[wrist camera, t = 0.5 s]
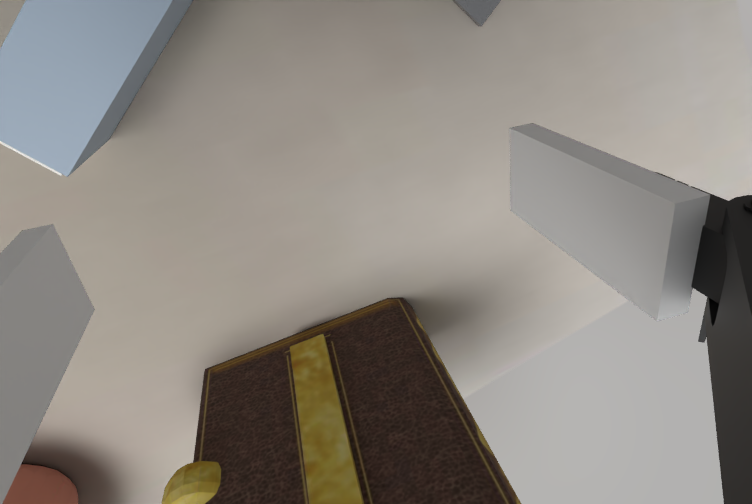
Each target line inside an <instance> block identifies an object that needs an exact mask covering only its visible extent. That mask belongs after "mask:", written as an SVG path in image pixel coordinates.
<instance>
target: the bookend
mask: <svg viewBox="0 0 752 504" xmlns="http://www.w3.org/2000/svg"><path fill="white" fill-rule="evenodd" d="M453 1H454V2H455V3H456V4H457V5H458V6H459V7H460V8H461V9H462V10H463V11H464V12H465V13H466V14H467V15H468V16H469V17H470V18H471V19H472V20H473V21H474V22H475V23H476V24H477V25H478V26H482V25H483V23H484V22H485V21H486V19H487V18H488V17H489V15H490V14H491V13H492V11H493V10H494V9H495V7H496V6H497V5H498V3H499V2H500V1H501V0H453Z"/></svg>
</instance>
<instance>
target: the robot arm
mask: <svg viewBox="0 0 752 504" xmlns="http://www.w3.org/2000/svg"><path fill="white" fill-rule="evenodd" d="M510 206H511V211H512V212H513V213H514V214H516V215H517V216H518V217H520V218H521V219H522V220H524V221H525V222H526V223H528V224H529V225H530V226H532V227H533V228H534V229H535V230H537V231H538V232H539V233H541V234H542V235H543V236H545V237H546V238H547V239H549V240H550V241H551V242H553V243H554V244H555V245H557V246H558V247H559V248H561V249H562V250H563V251H564V252H566V253H567V254H568V255H570V256H571V257H572V258H574V259H575V260H576V261H578V262H579V263H580V264H582V265H583V266H584V267H586V268H587V269H588V270H590V271H591V272H592V273H593V274H595V275H596V276H597V277H599V278H600V279H601V280H603V281H604V282H605V283H607V284H608V285H609V286H611V287H612V288H613V289H615V290H616V291H617V292H619V293H620V294H621V295H622V296H624V297H625V298H626V299H628V300H629V301H630V302H632V303H633V304H634V305H636V306H637V307H638V308H640V309H641V310H642V311H644V312H645V313H646V314H648V315H649V316H650V317H651V318H653V319H654V320H655V321H661V320H664V319H668V318H671V317H675V316H678V315H682V314H685V313H688V309H689V304H690V299H691V294H692V289H693V288H694V289H696V290H697V291H699V292H701V293H702V294H704V295H705V296H707V302H706V307H705V311H704V316H703V321H702V326H701V330H700V336H699V340H698V341H699V342H704V341H705V339H706V337H707V345H708V354H709V363H710V372H711V383H712V392H713V402H714V412H715V421H716V431H717V441H718V450H719V460H720V468H721V479H722V489H723V498H724V504H752V195H746V196H741V197H736V198H734V199H732V200H730V201H727V200H725V199H722V198H720V197H717V196H715V195H712V194H710V193H707V192H705V191H702V190H700V189H697V188H695V187H692V186H691V187H690V186H688V185H687V184H685V183H682V182H680V181H675V179H672V178H670V177H667V176H665V175H662V174H660V173H657V172H653V171H650V170H648V169H645V168H643V167H640V166H638V165H635V164H633V163H630V162H628V161H625V160H623V159H620V158H618V157H615V156H613V155H610V154H608V153H606V152H603V151H601V150H598V149H596V148H593V147H591V146H588V145H586V144H583V143H581V142H578V141H576V140H573V139H571V138H568V137H566V136H563V135H561V134H558V133H556V132H553V131H551V130H548V129H546V128H544V127H541V126H539V125H536V124H534V123H531V124H526V125H521V126H516V127H512V128H510ZM94 310H95V309H94V307H93V305H92V303H91V301H90V299H89V297H88V295H87V293H86V291H85V289H84V286H83V284H82V282H81V280H80V278H79V276H78V274H77V272H76V270H75V268H74V266H73V264H72V262H71V260H70V258H69V256H68V254H67V252H66V250H65V248H64V246H63V244H62V242H61V240H60V237H59V235H58V233H57V231H56V229H55V227H54V225H53V224H51V225H47V226H42V227H37V228H32V229H28V230H23V231H21V232H20V233H19V234H18V235H17V237H16V238H15V239H14V240H13V241H12V242H11V243H10V244H9V245H8V246H7V247H6V248H5V249H4V250H3V251H2V252H1V253H0V504H2V503H3V501H4V499H5V497H6V495H7V493H8V491H9V489H10V487H11V484H12V482H13V480H14V478H15V476H16V474H17V472H18V470H19V468H20V465H21V463H22V461H23V459H24V457H25V455H26V453H27V451H28V449H29V447H30V444H31V442H32V440H33V438H34V436H35V434H36V432H37V430H38V428H39V425H40V423H41V421H42V419H43V417H44V415H45V413H46V411H47V409H48V407H49V404H50V402H51V400H52V398H53V396H54V394H55V392H56V390H57V388H58V386H59V383H60V381H61V379H62V377H63V375H64V373H65V371H66V369H67V367H68V364H69V362H70V360H71V358H72V356H73V354H74V352H75V350H76V348H77V346H78V343H79V341H80V339H81V337H82V335H83V333H84V331H85V329H86V327H87V325H88V322H89V320H90V318H91V316H92V314H93V312H94Z"/></svg>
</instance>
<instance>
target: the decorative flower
mask: <svg viewBox="0 0 752 504" xmlns="http://www.w3.org/2000/svg"><path fill="white" fill-rule="evenodd" d="M2 504H78V493H77V490H76V487H75V485H74V484H73V483H72V482H71V480H70V479H69V478H68V477H66V476H65V475H63V474H62V473H61V472H59V471H58V470H54V469H51V468H47V467H44V466H36V465H28V464H23V465H20V468H19V470H18V472H17V474H16V476H15V478H14V480H13V482H12V484H11V487H10V489H9V491H8V493H7V495H6V497H5V499H4V501H3V503H2Z"/></svg>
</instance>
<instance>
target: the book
mask: <svg viewBox="0 0 752 504" xmlns="http://www.w3.org/2000/svg"><path fill="white" fill-rule="evenodd" d="M162 504H521V503H520V501H519V499H518V497H517V495H516V494H515V492H514V490H513V488H512V486H511V485H510V483H509V481H508V479H507V477H506V476H505V474H504V472H503V470H502V468H501V467H500V465H499V463H498V461H497V459H496V458H495V456H494V454H493V452H492V450H491V449H490V447H489V445H488V443H487V441H486V440H485V438H484V436H483V434H482V432H481V431H480V429H479V427H478V425H477V423H476V422H475V420H474V418H473V416H472V414H471V413H470V411H469V409H468V407H467V405H466V404H465V402H464V400H463V398H462V396H461V395H460V393H459V391H458V389H457V387H456V386H455V384H454V382H453V380H452V378H451V377H450V375H449V373H448V371H447V369H446V368H445V366H444V364H443V362H442V360H441V359H440V357H439V355H438V353H437V351H436V350H435V348H434V346H433V344H432V342H431V341H430V339H429V337H428V335H427V333H426V332H425V330H424V328H423V326H422V324H421V322H420V321H419V319H418V317H417V315H416V313H415V312H414V310H413V308H412V306H410V305H409V304H408V303H407V302H406V301H405V300H404V299H403V298H387V299H385V300H382V301H379V302H377V303H374V304H372V305H369V306H367V307H364V308H361V309H359V310H356V311H354V312H351V313H349V314H346V315H344V316H341V317H338V318H336V319H333V320H331V321H328V322H326V323H323V324H320V325H318V326H315V327H313V328H310V329H308V330H305V331H302V332H300V333H297V334H295V335H292V336H290V337H287V338H285V339H282V340H279V341H277V342H274V343H272V344H269V345H267V346H264V347H261V348H259V349H256V350H254V351H251V352H249V353H246V354H243V355H241V356H238V357H236V358H233V359H231V360H228V361H226V362H223V363H220V364H218V365H215V366H213V367H210V368H208V369H205V373H204V380H203V388H202V396H201V404H200V412H199V421H198V429H197V437H196V445H195V453H194V461H193V463H190V464H187V465H185V466H184V467H182V468H180V469H179V470H177V471H176V472H175V474H174V475H173V476H172V478H171V479H170V481H169V482H168V484H167V486H166V487H165V490H164V495H163V499H162Z"/></svg>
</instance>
